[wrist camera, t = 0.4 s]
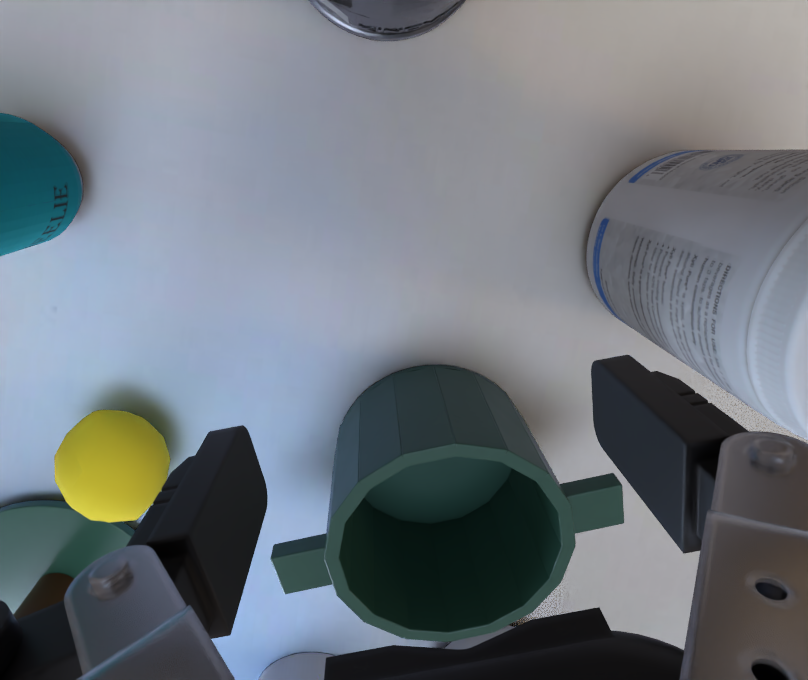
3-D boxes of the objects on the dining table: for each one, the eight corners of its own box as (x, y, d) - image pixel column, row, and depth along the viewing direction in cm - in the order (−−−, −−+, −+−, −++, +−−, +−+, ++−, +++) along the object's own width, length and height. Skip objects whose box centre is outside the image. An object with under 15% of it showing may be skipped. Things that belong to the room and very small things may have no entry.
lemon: (71, 392, 29) (9, 445, 24) (167, 382, 29) (125, 433, 24) (108, 493, 32) (59, 559, 27) (196, 483, 32) (163, 548, 27)
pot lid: (-78, 517, 31) (-182, 606, 25) (124, 474, 31) (67, 553, 25) (22, 658, 36) (-46, 760, 30) (198, 621, 36) (164, 717, 30)
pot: (269, 397, 30) (234, 490, 22) (557, 335, 30) (625, 406, 22) (321, 549, 34) (308, 672, 26) (573, 496, 34) (635, 604, 26)
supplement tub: (680, 347, 30) (935, 515, 17) (547, 283, 28) (713, 415, 15) (787, 194, 28) (1200, 249, 14) (646, 111, 26) (968, 79, 12)
